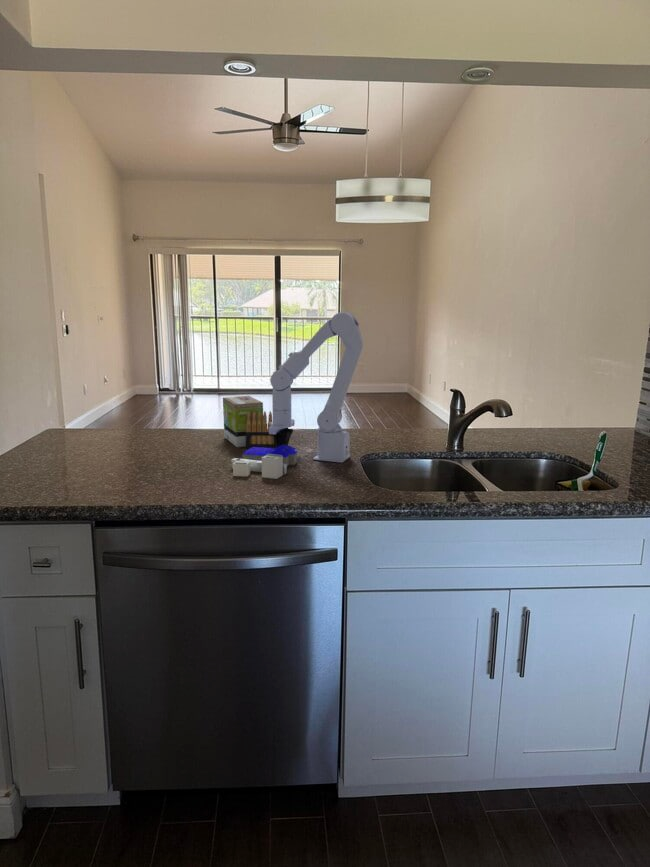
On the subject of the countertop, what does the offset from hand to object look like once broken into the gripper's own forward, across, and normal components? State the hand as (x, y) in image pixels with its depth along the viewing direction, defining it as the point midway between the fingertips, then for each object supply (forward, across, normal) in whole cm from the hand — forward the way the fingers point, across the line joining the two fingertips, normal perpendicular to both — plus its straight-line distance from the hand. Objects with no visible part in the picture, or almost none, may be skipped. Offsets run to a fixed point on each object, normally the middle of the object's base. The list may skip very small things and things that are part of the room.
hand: (282, 452), depth 181 cm
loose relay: (+1, +23, -2) cm, 23 cm away
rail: (+1, +18, +1) cm, 18 cm away
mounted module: (+1, +21, +7) cm, 22 cm away
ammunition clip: (+1, -7, -10) cm, 12 cm away
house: (+2, +8, 0) cm, 8 cm away
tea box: (+1, -13, -21) cm, 25 cm away
